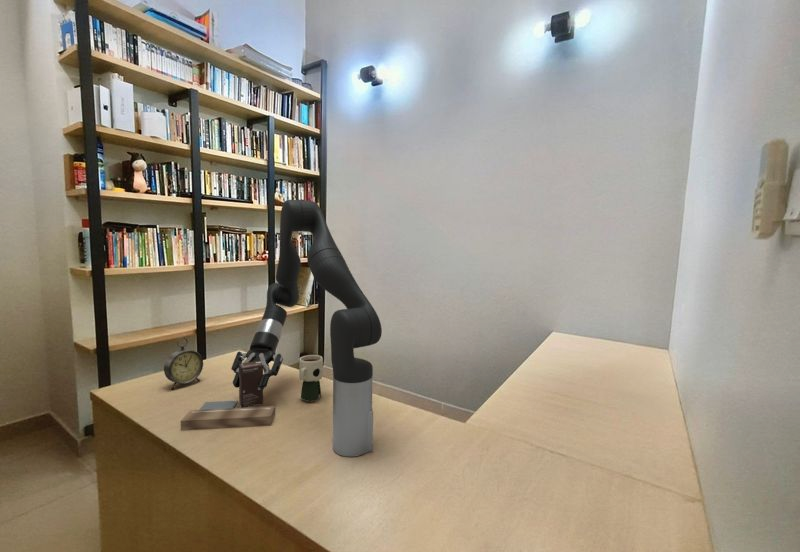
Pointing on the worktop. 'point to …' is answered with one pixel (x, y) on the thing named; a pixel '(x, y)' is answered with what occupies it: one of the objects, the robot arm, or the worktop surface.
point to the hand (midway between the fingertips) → (248, 387)
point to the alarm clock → (183, 366)
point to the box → (250, 384)
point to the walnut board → (228, 418)
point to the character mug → (310, 376)
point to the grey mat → (219, 405)
